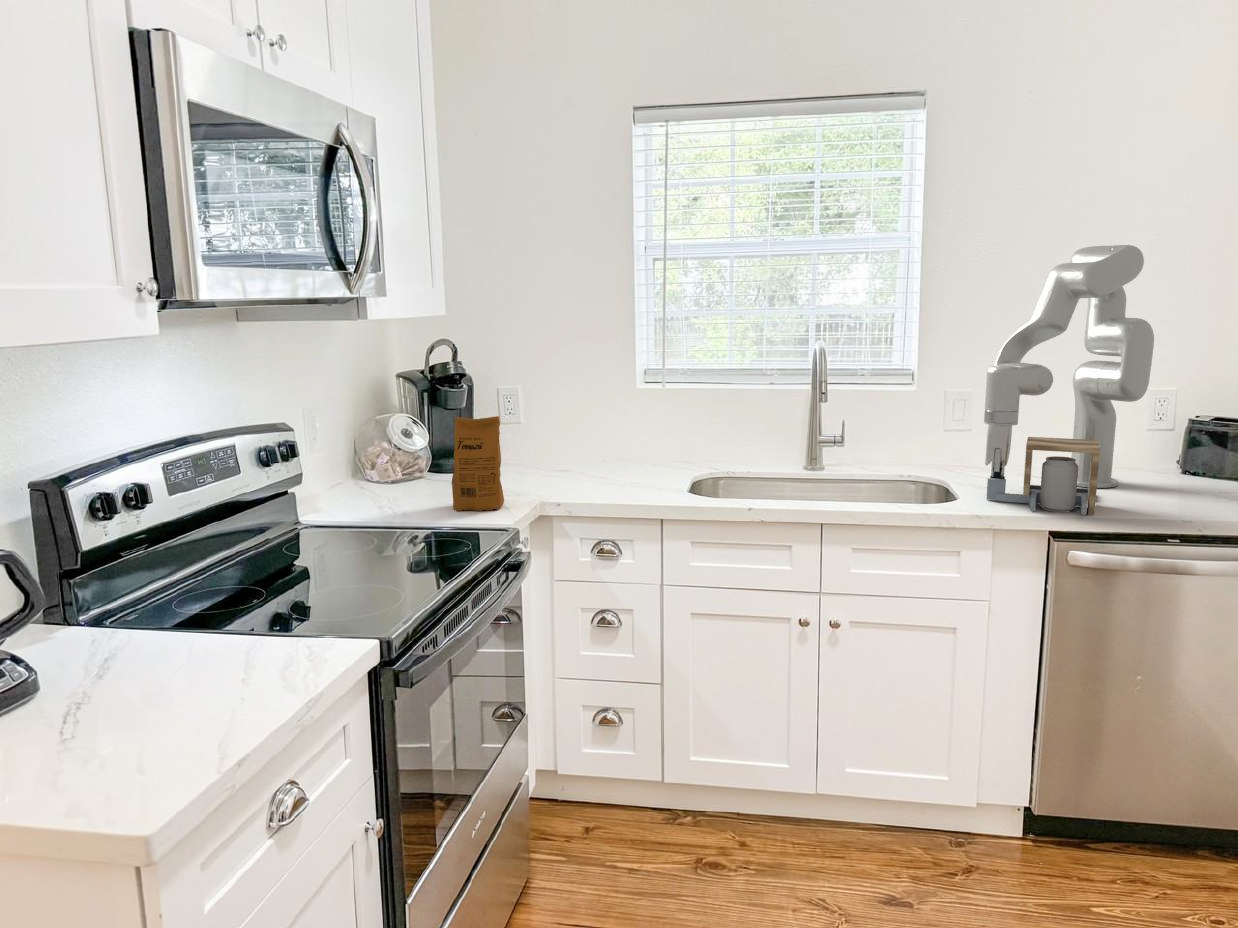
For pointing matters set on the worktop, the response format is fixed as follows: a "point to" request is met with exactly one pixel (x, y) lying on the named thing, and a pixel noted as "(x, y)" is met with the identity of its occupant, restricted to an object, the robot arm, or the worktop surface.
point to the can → (1059, 484)
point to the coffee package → (477, 465)
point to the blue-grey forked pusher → (998, 494)
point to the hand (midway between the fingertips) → (996, 492)
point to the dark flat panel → (1079, 491)
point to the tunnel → (1065, 446)
